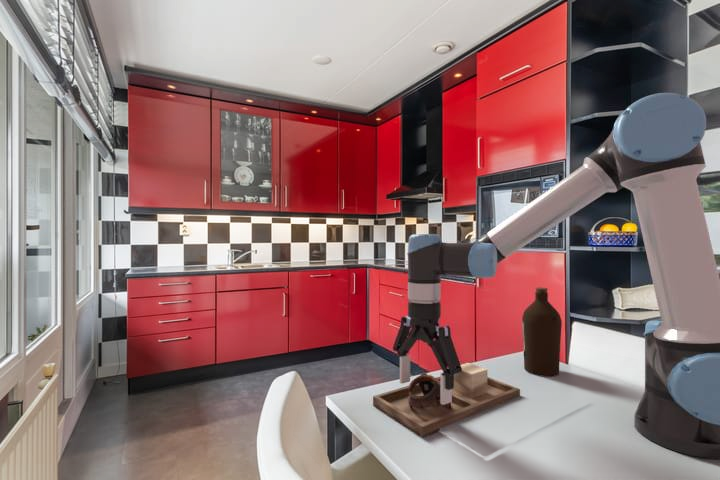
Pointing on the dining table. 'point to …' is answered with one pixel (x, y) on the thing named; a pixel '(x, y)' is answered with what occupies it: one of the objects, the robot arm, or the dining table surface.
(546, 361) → the olive oil
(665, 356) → the robot arm
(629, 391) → the dining table surface
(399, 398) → the walnut tray
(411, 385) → the pottery mug
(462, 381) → the beech block
